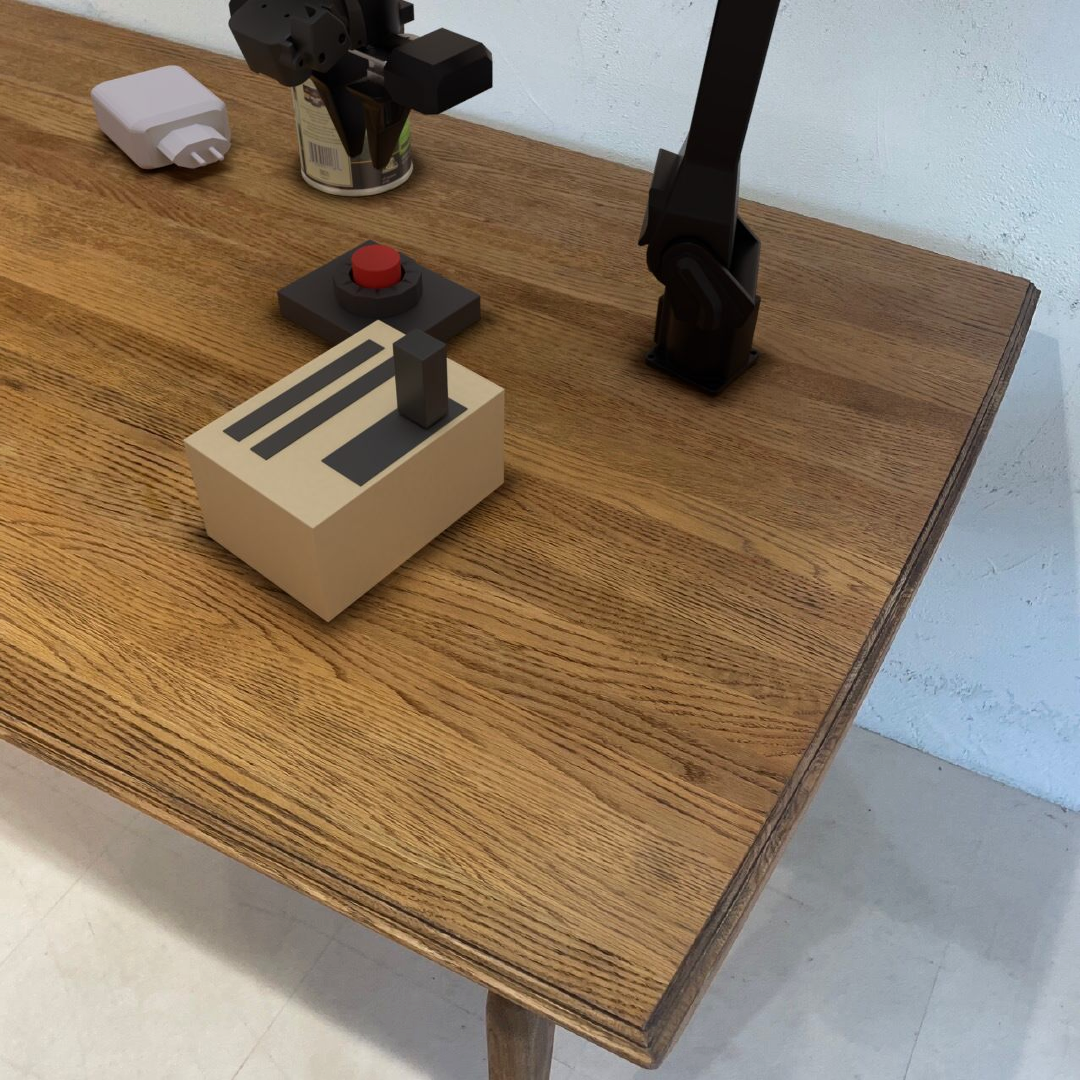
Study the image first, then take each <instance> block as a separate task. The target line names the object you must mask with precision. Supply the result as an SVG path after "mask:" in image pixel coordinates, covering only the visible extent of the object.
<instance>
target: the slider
mask: <svg viewBox="0 0 1080 1080" xmlns="http://www.w3.org/2000/svg"><path fill="white" fill-rule="evenodd" d="M392 345H393V358H394V371H395V384H396V397H397V409H398V412H400V413H402V414H403V415H405V416H407V417H408V418H410V419H412V420H414V421H415V422H417V423H419V424H420V425H422V426H424V427H425V428H427V427H429V426H430V425H431V424H433V423H434V422H436V421H437V420H438V419H440V418H441V417H443V416H444V415H445V414H447V413H448V412H449V404H448V376H447V358H448V355H447V354H448V353H447V344H446V343H443V342H441V341H439V340H437V339H435V338H433V337H431V336H430V335H428V334H426V333H424V332H422V331H420V330H419V329H414V330H413V331H411V332H410V333H408V334H406V335H405V336H403V337H402V338H400V339H399V340H397V341H395V342H394V343H393V344H392Z"/></svg>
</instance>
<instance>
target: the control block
mask: <svg viewBox="0 0 1080 1080" xmlns="http://www.w3.org/2000/svg"><path fill="white" fill-rule="evenodd" d="M369 245H381V244H380V243H378V242H377V241H374V240H373V239H367V240H366V241H363V242H362V243H360V244H358V245H357V246H355V247H353V248H352V249H350V250H348V251H346V252H344V253H342V254H341V255H339V256H337V257H335V258H334V259H332V260H330V261H328V262H327V263H325V264H323V265H321V266H320V267H317V268H315V269H313V270H312V271H310V272H308V273H307V274H305V275H303V276H301V277H300V278H297V279H295V280H294V281H292V282H291V283H289V284H287V285H285V286H284V287H281V288H280V289H278V290H277V291H276V294H277V301H278V307H279V314H280V315H281V316H282V317H284V318H285V319H287V320H289V321H291V322H293V323H294V324H296V325H298V326H300V327H301V328H303V329H305V330H306V331H308V332H310V333H312V334H313V335H315V336H316V337H319V338H320V339H322V340H323V341H326V342H327V343H329V344H330V345H333V347H335V346H336V345H338V344H340V343H341V342H343V341H344V340H346V339H348V338H349V337H351V336H353V335H354V334H356V333H357V332H359V331H361V330H362V329H364V328H366V327H367V326H369V325H370V324H372V323H374V322H375V321H377V320H380V321H381V322H383V323H385V324H387V325H389V326H391V327H392V328H394V329H396V330H398V331H400V332H401V333H403V334H405V335H406V334H408V333H410V332H411V331H413V330H414V329H419V330H420V331H422V332H424V333H426V334H428V335H430V336H431V337H433V338H435V339H437V340H439V341H441V342H443V343H444V344H446V343H447V342H448V341H449V340H451V339H452V338H454V337H456V336H457V335H458V334H460V333H461V332H463V331H464V330H466V329H467V328H469V327H470V326H472V325H473V324H475V323H477V322H478V321H479V320H481V318H482V317H481V312H482V311H481V310H482V309H481V307H482V306H481V295H480V294H479V293H477V292H475V291H472V290H470V289H469V288H466V287H465V286H463V285H461V284H459V283H457V282H456V281H453V280H452V279H449V278H447V277H446V276H443V275H441V274H440V273H437V272H435V271H434V270H431V269H429V268H428V267H426V266H424V265H421V264H419V263H417V260H416V259H414V258H412V257H411V256H409V255H407V254H405V253H403V252H401V251H398V250H396V251H397V252H398V253H399V255H400V263H401V280H400V281H399V282H398V283H397V284H395V285H393V286H392V287H387V288H381V289H372V288H364V287H361V286H359V285H357V284H356V283H355V281H354V278H353V269H352V255H353V254H354V252H355V251H357V250H358V249H360V248H362V247H365V246H369Z"/></svg>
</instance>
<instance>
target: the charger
mask: <svg viewBox="0 0 1080 1080" xmlns="http://www.w3.org/2000/svg"><path fill="white" fill-rule="evenodd" d="M90 98H91V102H92V106H93V110H94V113H95V118H96V121H97V125H98V127H99V129H100V130H101V132H103V133H104V134H105V135H106V136H107V137H108V138H109V139H110V140H111V141H112V142H114V144H115V145H116V146H117V147H118V148H119V149H120V150H121V151H123V153H124V154H126V156H128V158H129V159H131V161H133V162H134V164H136V165H137V166H138V167H139V168H141V169H143V170H144V169H145V170H154V169H157V168H162V167H166V166H169V165H174V164H175V165H177V166H178V167H184V168H188V169H196V168H199V167H206V166H207V165H210V164H213V163H216V162H218V161H222V162H223V161H224V160H225V156H224V155H225V154H227V153H228V152H229V150H230V149H231V147H232V145H233V144H232V143H231V141H232V134H231V127H230V122H229V116H228V115H229V114H228V111H227V105H226V103H225V102H224V101H223V100H222V99H220V98H219V97H218V96H217V95H216V94H214V93H213V92H212V91H211V90H210V89H209V88H208V87H206V86H205V85H203V83H201V82H200V81H198V80H197V79H196V78H195V77H194V76H192V75H191V74H190V73H189V72H187V71H186V70H185V69H184V68H183V67H181V66H179V65H173V64H172V65H170V64H169V65H165V66H160V67H157V68H153V69H149V70H146V71H141V72H138V73H134V74H129V75H126V76H122V77H118V78H114V79H109V80H106V81H103V82H100V83H99V84H97V85H95V86H94V87H93V88H92V89H91V91H90Z"/></svg>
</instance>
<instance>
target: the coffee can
mask: <svg viewBox="0 0 1080 1080" xmlns="http://www.w3.org/2000/svg"><path fill="white" fill-rule="evenodd" d="M399 34H405V24H404V25H402V26H400V32H399ZM290 92H291V98H292V107H293V112H294V121H295V128H296V135H297V144H298V149H299V150H298V151H299V159H300V173H301V176H302V178H303V180H304V181H305V183H307V184H308V185H309V186H310V187H312V188H313V189H316V190H318V191H320V192H323V193H325V194H329V195H334V196H340V197H366V196H367V197H368V196H375V195H379V194H380V195H381V194H383V193H385V192H389V191H392V190H394V189H396V188H398V187H399V186H401V185H403V184H405V182H407V181H408V180H409V178H410V177H411V175H412V174H413V171H414V164H413V160H412V159H413V158H412V142H411V126H410V125H411V123H410V115H409V116H408V118H407V121H406V123H405V125H404V128H403V130H402V133H401V135H400V137H399V140H398V142H397V145H396V147H395V149H394V152H393V154H392V156H391V159H390V161H389V164H388V165H387V166H386V167H384V168H382V169H380V170H376V169H374V168H373V164H372V160H371V156H370V152H369V145H368V138H367V131H366V133H365V140H364V146H363V151H362V154H360V155H359V156H357V157H355V158H351V157H349V156H348V155H347V153H346V151H345V149H344V147H343V145H342V142H341V140H340V138H339V136H338V133H337V131H336V129H335V127H334V125H333V122H332V120H331V118H330V116H329V113H328V111H327V109H326V107H325V105H324V103H323V101H322V99H321V97H320V95H319V93H318V91H317V89H316V87H315V85H314V83H313V82H312V81H311V79H308V80H307V81H305V82H304V83H303V84H301V85H299V86H296V87H290Z"/></svg>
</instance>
